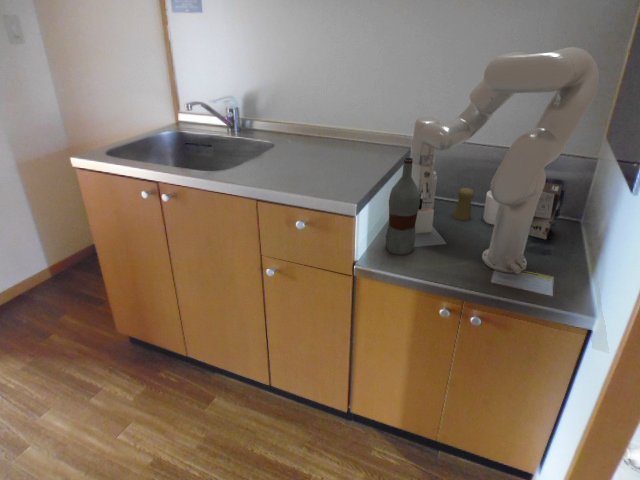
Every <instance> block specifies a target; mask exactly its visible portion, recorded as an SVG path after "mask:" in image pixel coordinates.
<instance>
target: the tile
mask: <svg viewBox="0 0 640 480" xmlns="http://www.w3.org/2000/svg"><path fill="white" fill-rule="evenodd" d="M434 214H435V209H434V208H433V209H420V210H418V213H417V218H416V223H415V233H425V232H431V231H432V226H433V222H434Z"/></svg>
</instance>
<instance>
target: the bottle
mask: <svg viewBox="0 0 640 480" xmlns="http://www.w3.org/2000/svg"><path fill="white" fill-rule="evenodd" d="M412 163H413V159H412V158H411V156H409V157H408V156H407V157H404V158H403V164H402V165H403V167H402V176H400V178H399V179H398V181H397V182H396V183H395V185H393V187H392V189H391V191H390V194H389V198H388V226H387V231H386V235H385V244H386V249H387V251H388V252H389V253H391V254H394V255H400V256H401V255H408V254H410V253H411V252H413V250H414V248H415V247H414V244H415V240H416V236H415V223H416V218H417V213H418V209H419V205H420V194H419V190H418V188H417V186H416V184H415V182H414V181H413V179H412V177H411V174H412Z"/></svg>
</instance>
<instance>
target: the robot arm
mask: <svg viewBox="0 0 640 480" xmlns="http://www.w3.org/2000/svg"><path fill="white" fill-rule="evenodd" d="M599 80H600V76H599V69H598V66H597V63H596V61H595V59H594V57H592V55H591V54H590V53H589V52H588V51H586V50H585V49H583V48H580V47H572V46H571V47H565V48H561V49H557V50H553V51H549V52H541V53H540V52H539V53H532V54H531V53H530V54H527V53H526V52H524V51H512V52H508V53H504V54H500V55H498V56H496V57H494V58H493V59H491V61H489V63H487V65H486V68H485V69H484V72H483V79H482V80H481V81H480V82H479V83H478V84H477V85H476V86H475V87H474V88H473V89H472V90H470V91H471V92H470V93H469V100H470V104H468V106H467V107H466V108H465V109H464V110H463V111H462V112H461V113H459V115H458V116H457V117H455V119H453V120H449V121H446V122H445V123H441V122H440V120H439V119H437V118H436V117H433V116H432V117H431V116H419V117H418V118H417V119H416V120H415V121H414V122H415V123H414V127H413V137H412V138H413V139H412V146H411V153H410V154H411V155H410V158H412V159H413V163H412V174H411V177H412V179H413V181H414V182H415V184H416V186H417V188H418V190H419V194H420V205H419V209H418V210H420V209H422V202H423V199H426V191H427V192H428V193H429V194H431V193H432V187H433V176H434V171H435V169H434V168H435V166H434V164H435V162H436V161H435V160H436V154H437V150H438V151H443V152H444V151H448V150H450V149H453V148H454V147H457V146H459V145H461V144H463V143H464V144H465V143H466V142H467V141H468V140H470V139H471V138H472V137H473V136H475V134H476V133H477V132H479V131H480V130H481V129H482V128H483V127H484V126H485V125H486V124H487V123H488V121H489V120H490V119H491V118H492V116H493V115H494V114H495V112H497V111H498V110H499V109H500V108H502V106H503V105H504V104H505V103H506V102H508V100H510V99H511V98H512V97H513V96H514V95H515V94H523V93H524V94H531V93H532V94H533V93H534V94H535V93H536V94H537V93H538V94H539V93H540V94H541V93H551V92H555V93H554V95H553V97H552V98H551V99H550V101H549V102H548V104H547V105H546V107H545V108H544V110H543V113H542V114H541V116H540V117H539V119H538V121H537V122H536V124H535V125H534V126H533V128H531V129H530V130H529V131H527V132H525V133H523V134H522V135H520V136H518V137H517V138H516V139H515V140H514V141H513V143H512V144H511V146H509V149H508V150H507V152H506V153H505V155H504V157H503V159H502V161H501V163H500V164H499V166H498V168H497V170H496V172H495V173H494V175H493V177H492V180H491V183H490V191H491V194H492V197H493V198H494V200H495V201H496V202H497V203H499V207H498V211H497V215H496V220H495V225H493V230H492V234H491V239H490V244H489V248H487V249H485V250H484V251H483V252H482V254H481V260H482V262H483V263H484V264H485V265H486V266H488V267H489V268H490V269H492V270H495V271H498V272H501V273H507V274H508V273H511V274H516V275H519V274H520V273H522V271H524V270H525V271H526V269H527V265H528V263H527V259H526V258H525V255H524V253H525V250H526V245H527V241H528V238H529V236H530V235H529V231H530V228H531V224H532V220H533V217H534V213H535V210H536V207H537V204H538V201H539V198H540V196H541V193H542V191H543V188H544V185H545V182H546V180H547V175H546V171H545V167H546V166H549V164H551V163H553V162H554V161H555V160H557V159H558V157H560V156H561V154H562V152H563V150H564V149H565V147H566V145H567V144H568V142H569V140H570V139H571V137H572V136H573V135H574V132H575V131H576V130H577V128H578V126H579V125H580V122H581V121H582V119H583V118H584V117H585V114H586V113H587V112H588V109H589V108H590V106H591V104H592V102H593V101H594V98H595V96H596V95H597V91H598V87H599V82H600V81H599Z"/></svg>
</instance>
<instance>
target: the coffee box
mask: <svg viewBox="0 0 640 480" xmlns="http://www.w3.org/2000/svg"><path fill="white" fill-rule="evenodd" d="M562 190H563V185H562V184H558V183H553V182H552V183H551V182H546V181H545V185H544V188H543V191H542V193H541V196H540V198H539V201H538V204H537V207H536V210H535V213H534V217H533V220H532V224H531V228H530V231H529V235H528V236H531V237H535V238H539V239H543V240H547V239H548V238H547V237H548V236H549V232H550V230H551V226H552V224H553V222H554V218H555V215H556V211H557V207H558V204H559V201H560V198H561V197H560V196H561V193H562Z"/></svg>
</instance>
